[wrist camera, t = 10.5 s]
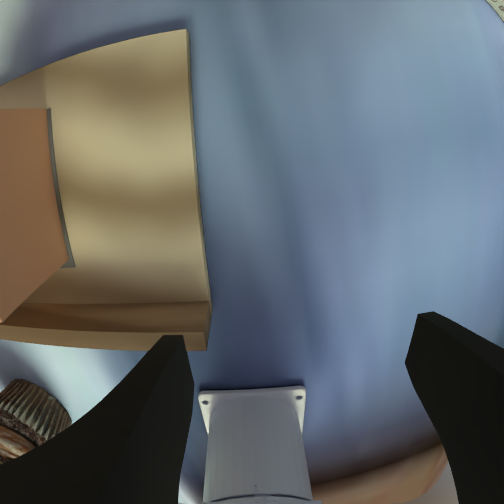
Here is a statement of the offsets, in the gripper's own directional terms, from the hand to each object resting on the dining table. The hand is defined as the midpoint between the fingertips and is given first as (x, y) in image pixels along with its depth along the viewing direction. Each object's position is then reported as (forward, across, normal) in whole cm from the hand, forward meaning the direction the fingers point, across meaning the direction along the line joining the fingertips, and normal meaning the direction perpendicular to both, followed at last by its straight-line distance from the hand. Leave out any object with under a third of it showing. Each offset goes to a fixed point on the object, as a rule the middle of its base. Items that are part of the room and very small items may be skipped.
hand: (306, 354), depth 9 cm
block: (+8, +14, -5) cm, 17 cm away
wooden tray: (+9, +13, -4) cm, 17 cm away
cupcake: (+10, +24, +16) cm, 30 cm away
